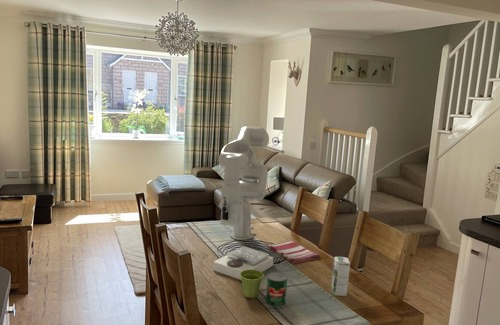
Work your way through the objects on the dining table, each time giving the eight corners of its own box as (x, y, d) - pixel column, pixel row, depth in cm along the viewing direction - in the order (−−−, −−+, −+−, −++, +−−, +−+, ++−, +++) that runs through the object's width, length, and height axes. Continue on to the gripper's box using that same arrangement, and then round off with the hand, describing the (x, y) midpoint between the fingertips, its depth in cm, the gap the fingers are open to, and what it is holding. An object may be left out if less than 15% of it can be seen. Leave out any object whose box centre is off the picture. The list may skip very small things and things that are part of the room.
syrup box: (330, 288, 174) (333, 256, 171) (344, 289, 174) (347, 257, 171) (332, 295, 168) (335, 261, 166) (347, 296, 168) (350, 262, 166)
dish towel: (293, 265, 197) (294, 259, 197) (265, 248, 217) (266, 243, 216) (320, 259, 206) (321, 254, 206) (291, 243, 226) (291, 238, 225)
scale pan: (243, 248, 202) (243, 246, 202) (269, 256, 194) (269, 254, 194) (227, 256, 191) (227, 253, 191) (253, 264, 183) (254, 262, 183)
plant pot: (245, 302, 159) (246, 281, 158) (234, 291, 168) (235, 271, 166) (266, 298, 164) (267, 277, 162) (255, 287, 172) (256, 267, 170)
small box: (240, 223, 200) (241, 202, 199) (236, 226, 195) (237, 205, 193) (224, 221, 202) (225, 200, 201) (220, 224, 197) (221, 203, 195)
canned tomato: (270, 309, 155) (272, 281, 153) (261, 299, 162) (263, 273, 160) (289, 306, 158) (291, 279, 156) (279, 296, 165) (281, 270, 164)
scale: (241, 255, 204) (242, 246, 204) (272, 265, 194) (273, 256, 194) (213, 270, 186) (213, 260, 186) (245, 281, 177) (246, 271, 176)
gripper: (237, 177, 205) (235, 212, 207) (213, 182, 191) (212, 220, 193) (249, 180, 200) (247, 215, 203) (226, 185, 186) (224, 223, 189)
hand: (230, 217), depth 198 cm, fingers closed on small box, 7 cm apart
